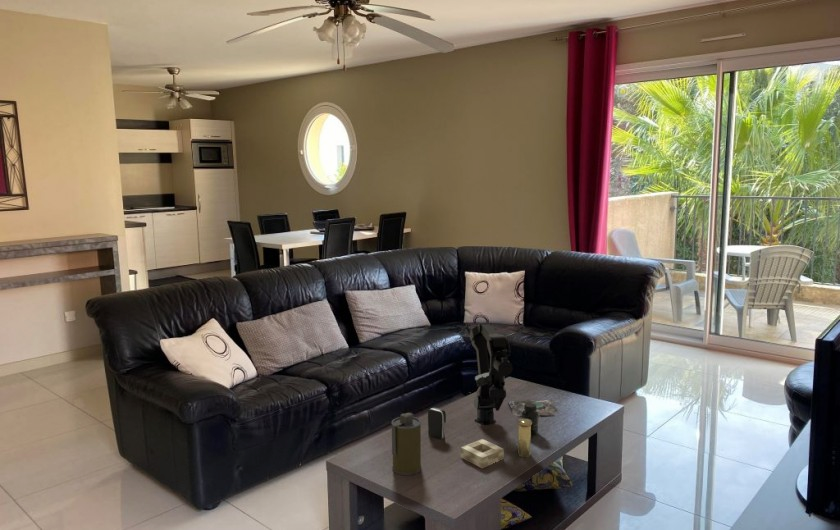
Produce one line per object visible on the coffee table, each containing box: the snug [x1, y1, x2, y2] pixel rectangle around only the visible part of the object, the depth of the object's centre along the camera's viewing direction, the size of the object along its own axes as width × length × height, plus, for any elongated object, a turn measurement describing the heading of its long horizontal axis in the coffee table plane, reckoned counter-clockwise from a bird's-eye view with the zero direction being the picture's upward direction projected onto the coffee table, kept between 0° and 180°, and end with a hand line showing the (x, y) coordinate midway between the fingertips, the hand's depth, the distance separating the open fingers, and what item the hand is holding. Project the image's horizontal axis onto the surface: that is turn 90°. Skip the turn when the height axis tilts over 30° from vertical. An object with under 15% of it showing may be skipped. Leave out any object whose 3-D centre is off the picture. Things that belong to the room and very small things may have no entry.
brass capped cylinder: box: [517, 418, 532, 458], centre depth 227 cm, size 5×5×13 cm
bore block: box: [460, 438, 505, 469], centre depth 225 cm, size 11×11×4 cm
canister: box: [391, 412, 422, 476], centre depth 216 cm, size 11×10×20 cm
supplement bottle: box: [520, 403, 540, 437], centre depth 245 cm, size 7×7×12 cm
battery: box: [427, 407, 447, 440], centre depth 243 cm, size 7×4×11 cm, turn 53°
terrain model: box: [507, 399, 560, 418], centre depth 270 cm, size 20×15×3 cm
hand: (496, 406), depth 240 cm, fingers open, 9 cm apart
